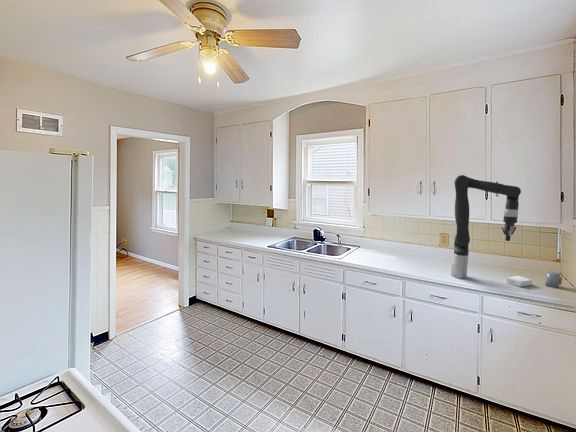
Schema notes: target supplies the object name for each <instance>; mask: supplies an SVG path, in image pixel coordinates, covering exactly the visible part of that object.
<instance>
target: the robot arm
mask: <svg viewBox="0 0 576 432" xmlns="http://www.w3.org/2000/svg"><path fill="white" fill-rule="evenodd" d="M453 185H454V189H455V200H454V218H455V219H454V220H455V224H456V234H455V236H454V241H453V243H454V245H453V246H454V247H453V262H452V264H451V272H450V273H451V274H450V275H451V276H452V277H453V278H456V279H467V278H468V265H469V244H470V241H471V238H470V237H471V236H470V231H469V230H470V229H469V223H470V203H469V201H470V200H469V193H468V190H469V189H476V190H480V191H484V192H487V193H492V194H499V195H503V196H506V200H505V201H506V202H505V209H504V213H503V220H502V221H503V223H504V226H503V227H501V230H502V232H503V233H502V234H504V235H505V241H507V242H509V241H511V238H512V235H514V233H515V231H516V229H517V226H515V225H516V224H517V223H518V215H519V207H520V206H519V199H520V198H519V196H520V195H521V194H522V189H521V188H520V187H519V186H515V185H509V184H508V185H507V184H504V183H499V182H494V181H486V180H479V179H474V178H473V177H472V178H471V177H468V176H466V175H464V174H462V175H461V174H460V175H458V176H456V177H455V178H454V181H453Z"/></svg>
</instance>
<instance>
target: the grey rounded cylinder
mask: <svg viewBox="0 0 576 432" xmlns="http://www.w3.org/2000/svg"><path fill="white" fill-rule="evenodd" d="M544 282H545V283H544V285H545V287H548V288H551V287H552V288H553V289H559V287H560V286H562V283H563V277H562V276H561V274H560V273H559V272H555V271H546V273H545V281H544Z"/></svg>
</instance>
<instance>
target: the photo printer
mask: <svg viewBox="0 0 576 432" xmlns="http://www.w3.org/2000/svg"><path fill="white" fill-rule="evenodd" d="M506 283H507V284H510V285H513V286H515V287H518V288H521V287H522V288H523V287H528V286H532V285H533V283H534V281H533V280H531V279H530V278H527V277H523V276H519V275H516V276H515V275H514V276H508V277H507V278H506Z"/></svg>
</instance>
